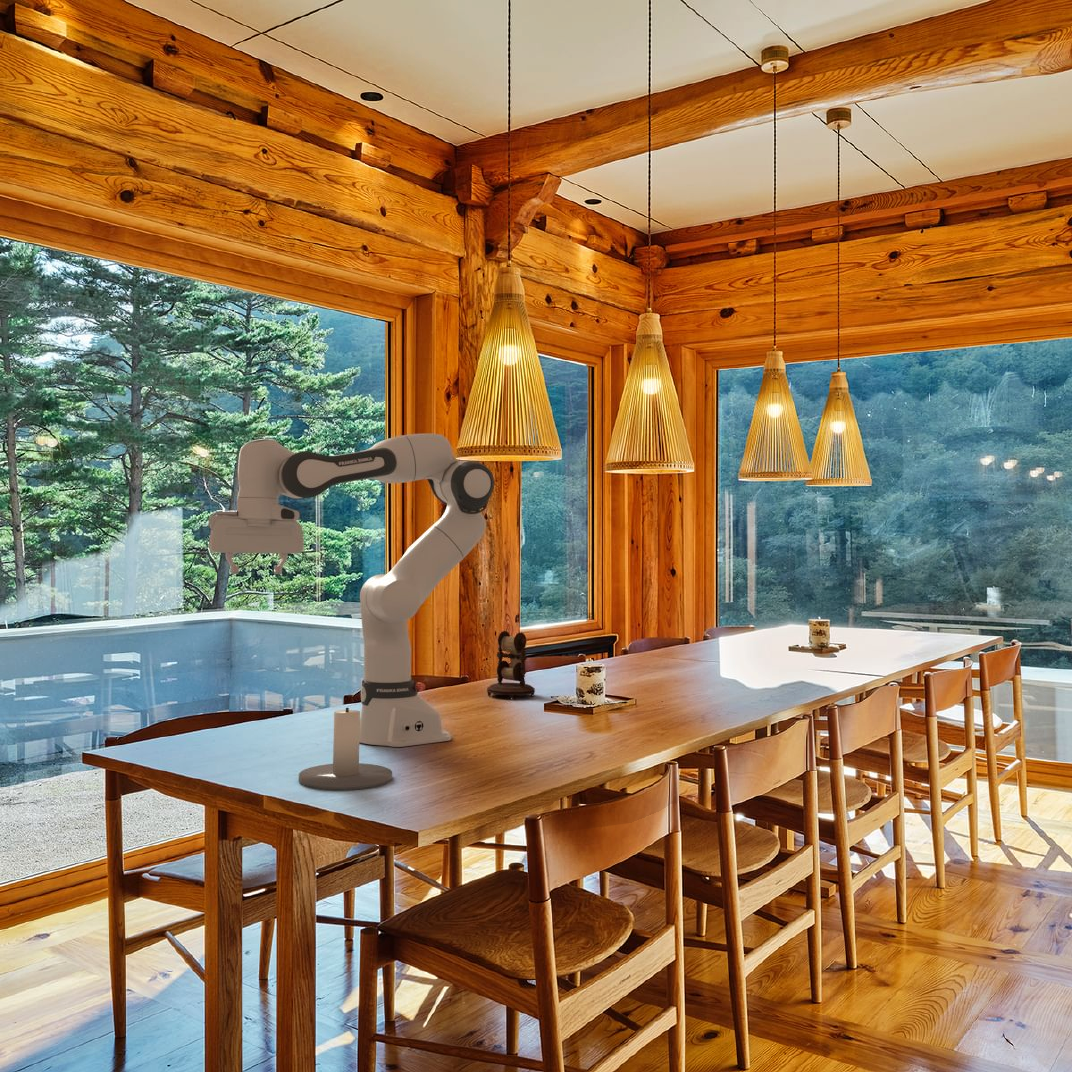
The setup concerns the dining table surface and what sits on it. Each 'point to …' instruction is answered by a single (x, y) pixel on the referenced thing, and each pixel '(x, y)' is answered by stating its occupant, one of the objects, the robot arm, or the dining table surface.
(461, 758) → the dining table surface
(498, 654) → the double spool stand
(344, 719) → the candle
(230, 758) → the dining table surface
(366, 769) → the plate
